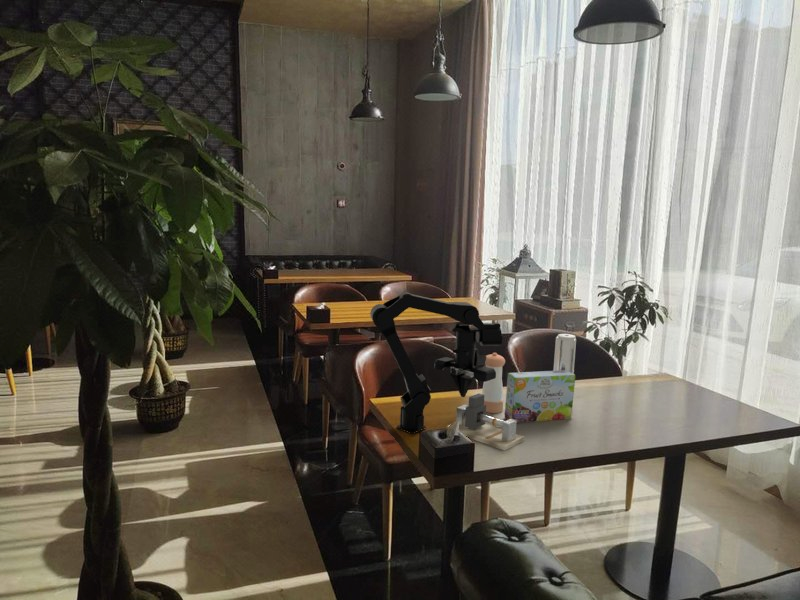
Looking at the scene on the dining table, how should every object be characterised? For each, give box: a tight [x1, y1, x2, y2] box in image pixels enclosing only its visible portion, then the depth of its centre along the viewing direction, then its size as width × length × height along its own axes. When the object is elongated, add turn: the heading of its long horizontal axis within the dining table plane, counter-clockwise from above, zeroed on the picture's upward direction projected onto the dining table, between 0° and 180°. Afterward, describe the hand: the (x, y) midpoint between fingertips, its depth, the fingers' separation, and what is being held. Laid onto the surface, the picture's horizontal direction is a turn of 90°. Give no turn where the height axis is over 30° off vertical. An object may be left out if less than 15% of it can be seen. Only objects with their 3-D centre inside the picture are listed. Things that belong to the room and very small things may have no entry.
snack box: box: [504, 370, 576, 424], centre depth 178 cm, size 21×6×15 cm, turn 106°
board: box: [446, 423, 525, 452], centre depth 164 cm, size 20×10×1 cm, turn 47°
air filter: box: [552, 333, 577, 374], centre depth 188 cm, size 6×6×25 cm
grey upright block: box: [465, 393, 487, 429], centre depth 165 cm, size 3×6×9 cm, turn 137°
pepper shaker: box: [481, 352, 506, 414], centre depth 184 cm, size 7×7×19 cm
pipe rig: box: [455, 404, 518, 442], centre depth 163 cm, size 18×4×5 cm, turn 47°
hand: (463, 396), depth 168 cm, fingers closed
